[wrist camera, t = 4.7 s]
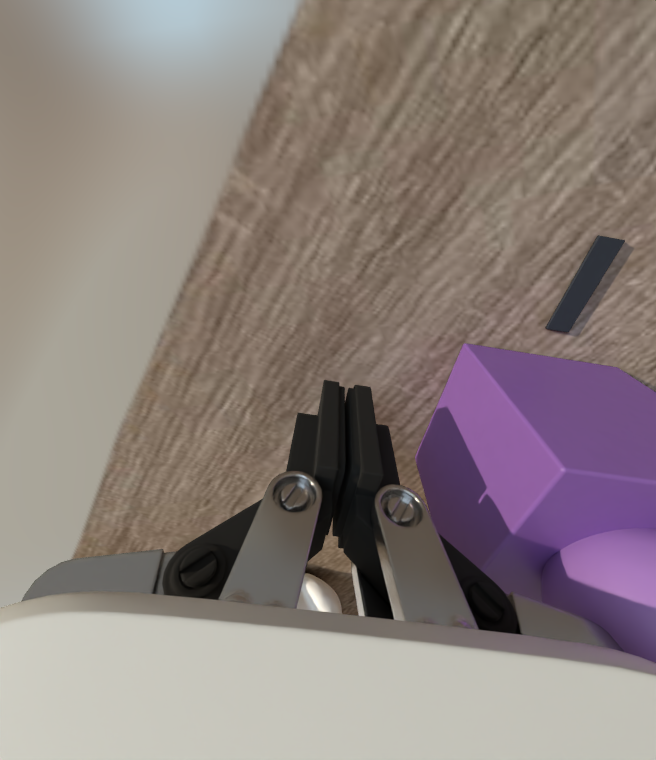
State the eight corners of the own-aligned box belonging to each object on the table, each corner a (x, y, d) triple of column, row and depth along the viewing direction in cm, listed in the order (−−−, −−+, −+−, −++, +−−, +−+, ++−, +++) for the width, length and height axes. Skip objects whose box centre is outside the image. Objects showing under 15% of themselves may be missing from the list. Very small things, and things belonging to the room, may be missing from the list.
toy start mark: (597, 235, 9) (600, 235, 9) (622, 239, 9) (625, 240, 9) (545, 327, 11) (546, 328, 11) (566, 331, 11) (568, 332, 11)
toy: (463, 342, 11) (743, 694, 3) (617, 366, 11) (1202, 743, 4) (414, 457, 14) (500, 776, 7) (536, 474, 15) (757, 798, 7)
